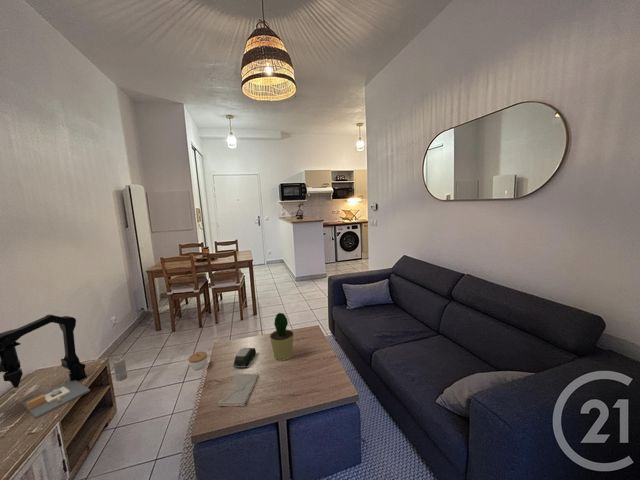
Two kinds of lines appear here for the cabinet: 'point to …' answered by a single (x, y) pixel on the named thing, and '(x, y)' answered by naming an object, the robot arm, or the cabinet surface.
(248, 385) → the envelope
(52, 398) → the brown white angular piece
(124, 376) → the energy drink
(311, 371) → the cabinet surface
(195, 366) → the lidded jar
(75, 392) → the slate board
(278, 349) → the potted cactus
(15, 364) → the robot arm
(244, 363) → the miniature car
